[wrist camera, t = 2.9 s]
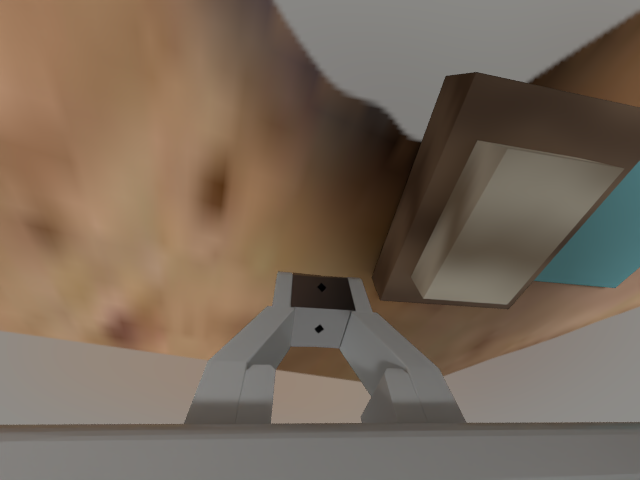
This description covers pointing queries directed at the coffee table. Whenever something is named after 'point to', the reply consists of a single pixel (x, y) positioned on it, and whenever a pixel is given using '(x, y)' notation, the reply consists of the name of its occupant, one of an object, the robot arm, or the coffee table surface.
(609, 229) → the teal mat
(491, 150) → the birch tile
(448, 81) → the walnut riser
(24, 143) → the coffee table surface
